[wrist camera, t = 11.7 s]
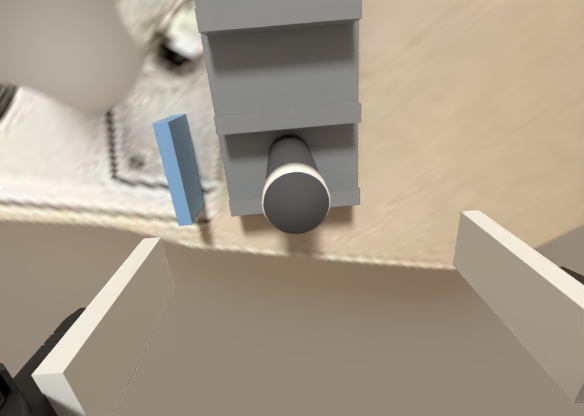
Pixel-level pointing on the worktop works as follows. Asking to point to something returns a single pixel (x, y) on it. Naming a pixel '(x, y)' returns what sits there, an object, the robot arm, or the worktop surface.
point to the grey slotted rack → (283, 89)
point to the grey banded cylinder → (294, 187)
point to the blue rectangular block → (180, 167)
